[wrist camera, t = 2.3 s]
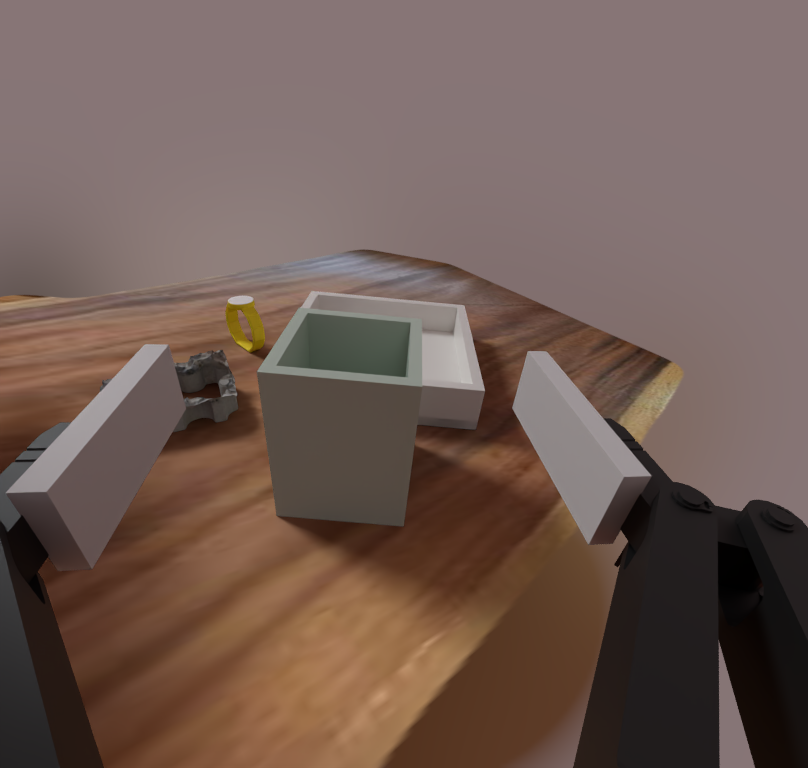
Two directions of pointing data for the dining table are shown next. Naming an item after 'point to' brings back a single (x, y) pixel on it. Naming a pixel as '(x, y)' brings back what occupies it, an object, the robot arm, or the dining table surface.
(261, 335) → the watch
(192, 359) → the egg carton
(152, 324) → the dining table surface
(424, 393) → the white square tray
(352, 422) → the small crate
